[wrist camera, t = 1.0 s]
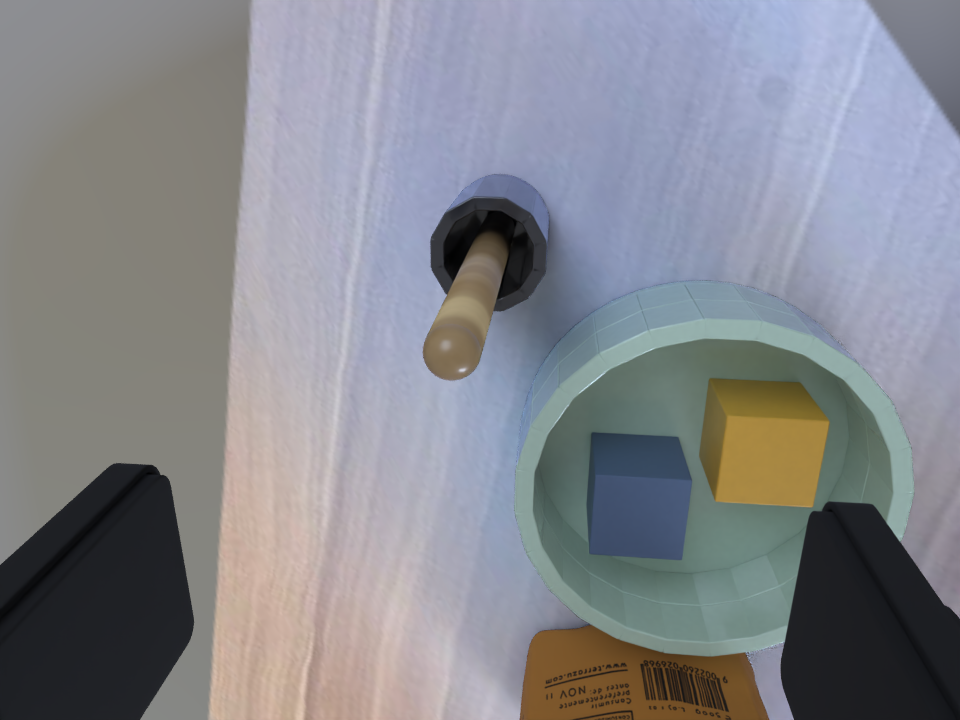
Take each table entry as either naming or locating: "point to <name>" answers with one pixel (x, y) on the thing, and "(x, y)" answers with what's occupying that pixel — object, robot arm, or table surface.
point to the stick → (470, 303)
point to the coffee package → (632, 681)
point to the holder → (466, 221)
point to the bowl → (694, 462)
